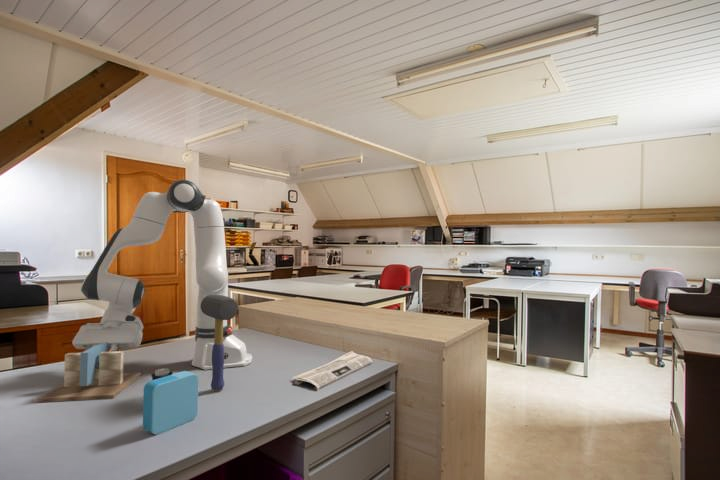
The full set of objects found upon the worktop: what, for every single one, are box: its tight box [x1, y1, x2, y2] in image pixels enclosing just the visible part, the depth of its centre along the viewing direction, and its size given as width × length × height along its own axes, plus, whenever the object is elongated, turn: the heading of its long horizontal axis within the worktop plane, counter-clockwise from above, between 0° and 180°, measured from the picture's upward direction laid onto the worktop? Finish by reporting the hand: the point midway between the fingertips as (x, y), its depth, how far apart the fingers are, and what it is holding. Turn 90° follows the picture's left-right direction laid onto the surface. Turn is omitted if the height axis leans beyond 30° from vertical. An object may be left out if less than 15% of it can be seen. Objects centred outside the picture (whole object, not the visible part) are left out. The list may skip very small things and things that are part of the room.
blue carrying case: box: [142, 370, 199, 436], centre depth 95 cm, size 12×4×12 cm, turn 147°
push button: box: [150, 367, 174, 381], centre depth 105 cm, size 7×5×10 cm
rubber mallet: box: [201, 295, 239, 392], centre depth 118 cm, size 12×8×30 cm, turn 49°
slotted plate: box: [80, 343, 108, 386], centre depth 119 cm, size 12×2×10 cm, turn 10°
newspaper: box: [291, 350, 374, 391], centre depth 136 cm, size 35×12×4 cm, turn 147°
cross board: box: [36, 350, 142, 403], centre depth 119 cm, size 20×20×11 cm
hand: (100, 358), depth 122 cm, fingers closed on slotted plate, 2 cm apart
